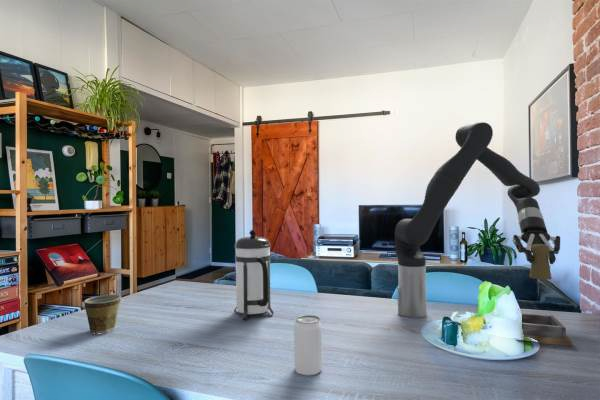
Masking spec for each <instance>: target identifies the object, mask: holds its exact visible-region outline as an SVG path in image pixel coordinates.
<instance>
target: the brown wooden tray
mask: <svg viewBox="0 0 600 400" xmlns="http://www.w3.org/2000/svg"><path fill="white" fill-rule="evenodd" d="M521 313H522V329H523V334H524V337H530V338H533V339H535V340H537V341H538V342H539V343H538V344H547V345H555V346H556V345H557V346H566V347H572V346H573V340H572V339H571V338H570V337H569V336H568V335H567V328H566V326H564V325H563V324H562V322H560V321H559V320H558V319H557V318H556V317H555V316H554V315H548V314H540V313H539V314H538V313H526V312H521Z"/></svg>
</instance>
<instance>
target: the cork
mask: <svg viewBox="0 0 600 400" xmlns="http://www.w3.org/2000/svg"><path fill="white" fill-rule="evenodd" d="M530 251H531V252H532V256H533V263H530V270H529V278H531V279H535V280H541V281H542V280H543V281H546V280H548V281H549V280H552V273H551V267H550V262H549V258H548V254H549V252H550V248H549V246H547V245H545V244H533V245H532V246H531V249H530Z"/></svg>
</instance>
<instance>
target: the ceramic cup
mask: <svg viewBox="0 0 600 400" xmlns="http://www.w3.org/2000/svg"><path fill="white" fill-rule="evenodd" d="M120 303H121V295H117V294H104V295H96V296H93V297H90V298H87V299H85V300H84V304H83V305H84V309H85V313H86V317H87V321H88V326H89V331H90V333H91V334H92V333H95V334H94V335H96V334H98V333H106V334H108V333H107V332H109V331H112V330H114V331H115V328H116V325H117V320H118V319H117V318H118V311H119V308H120ZM112 332H113V331H112ZM109 333H110V332H109ZM98 335H99V334H98Z"/></svg>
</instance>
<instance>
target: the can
mask: <svg viewBox="0 0 600 400" xmlns="http://www.w3.org/2000/svg"><path fill="white" fill-rule="evenodd" d="M320 320H321V319H320V318H319V317H318V316H317V315H314V314H310V315H309V314H305V315H300V316H297V317H296V318H295V323H294V324H293V325H294V328H293V335H294V336H293V340H294V341H293V342H294V343H293V346H294V348H293V349H294V350H293V351H294V357H293V358H294V370H295V372H296V373H298V374H299V375H301V376H304V377H314V376H317V375H319V374H320V373H321V371H322V369H323V342H322V340H323V337H322V336H323V335H322V334H323V333H322V332H323V330H322V323H321V322H320Z"/></svg>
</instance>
